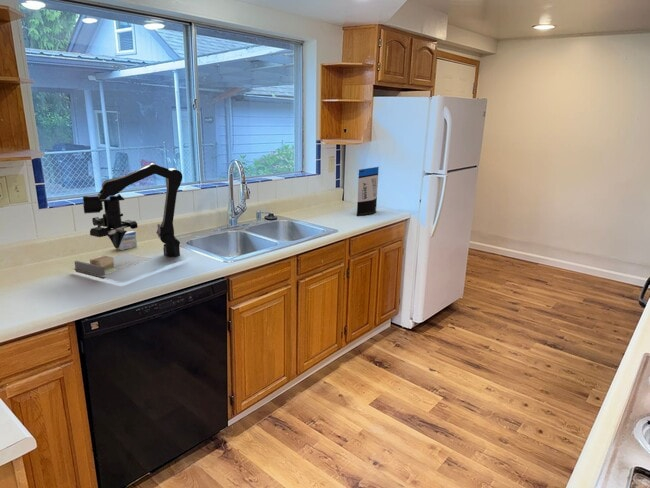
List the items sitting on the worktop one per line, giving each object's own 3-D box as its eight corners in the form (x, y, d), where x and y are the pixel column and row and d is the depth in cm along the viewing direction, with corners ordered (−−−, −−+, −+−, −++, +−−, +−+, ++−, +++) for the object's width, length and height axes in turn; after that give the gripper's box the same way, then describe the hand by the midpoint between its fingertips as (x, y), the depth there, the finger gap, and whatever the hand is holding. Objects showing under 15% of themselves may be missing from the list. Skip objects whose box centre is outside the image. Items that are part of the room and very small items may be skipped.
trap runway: (151, 261, 192) (150, 251, 190) (103, 278, 171) (101, 267, 170) (125, 255, 198) (124, 246, 197) (75, 271, 178) (74, 261, 176)
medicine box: (122, 253, 202) (120, 235, 199) (116, 251, 204) (114, 233, 201) (137, 249, 208) (136, 231, 206) (131, 247, 210) (130, 230, 208)
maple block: (114, 266, 180) (113, 257, 179) (101, 271, 175) (100, 261, 174) (103, 264, 183) (102, 255, 181) (90, 268, 177) (89, 259, 176)
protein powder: (382, 211, 303) (384, 167, 295) (362, 217, 284) (365, 170, 276) (370, 209, 309) (372, 166, 300) (350, 215, 290) (352, 169, 281)
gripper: (118, 205, 191) (122, 240, 196) (78, 213, 175) (83, 251, 179) (136, 208, 186) (140, 243, 191) (97, 216, 170) (102, 255, 175)
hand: (116, 248), depth 184 cm, fingers closed
